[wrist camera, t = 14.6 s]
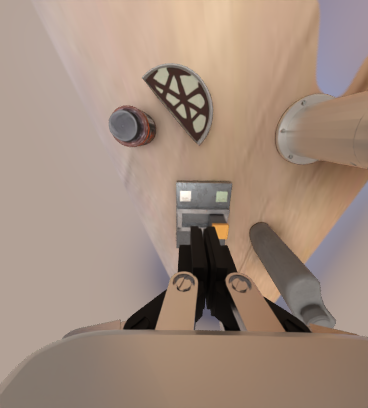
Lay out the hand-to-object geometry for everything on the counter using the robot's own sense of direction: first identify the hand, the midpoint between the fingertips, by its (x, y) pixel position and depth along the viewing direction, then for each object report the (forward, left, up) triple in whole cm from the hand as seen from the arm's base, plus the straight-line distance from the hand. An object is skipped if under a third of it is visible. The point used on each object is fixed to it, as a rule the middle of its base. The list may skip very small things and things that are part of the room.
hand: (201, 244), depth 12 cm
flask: (-20, +19, -27) cm, 39 cm away
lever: (-6, +11, -25) cm, 28 cm away
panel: (-3, +11, -27) cm, 29 cm away
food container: (+1, -12, -27) cm, 30 cm away
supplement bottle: (+10, -8, -27) cm, 30 cm away
